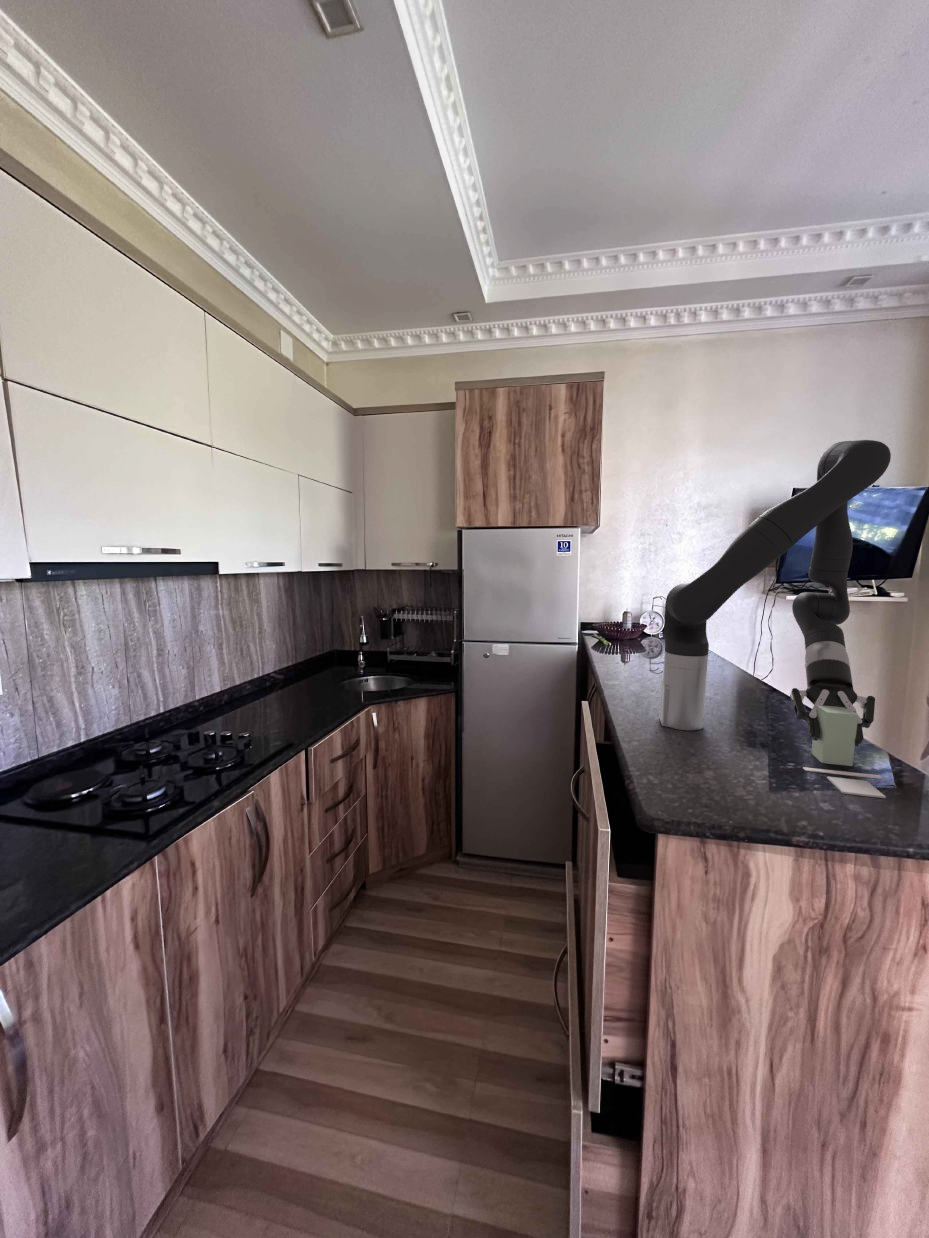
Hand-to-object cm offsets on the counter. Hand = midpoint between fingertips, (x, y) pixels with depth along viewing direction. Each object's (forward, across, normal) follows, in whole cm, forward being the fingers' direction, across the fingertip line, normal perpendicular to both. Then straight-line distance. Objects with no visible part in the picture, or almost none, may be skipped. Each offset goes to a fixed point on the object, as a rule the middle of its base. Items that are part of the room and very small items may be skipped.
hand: (836, 741), depth 93 cm
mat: (+11, +1, -5) cm, 12 cm away
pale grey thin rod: (+7, 0, -1) cm, 7 cm away
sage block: (+2, 0, +4) cm, 5 cm away
